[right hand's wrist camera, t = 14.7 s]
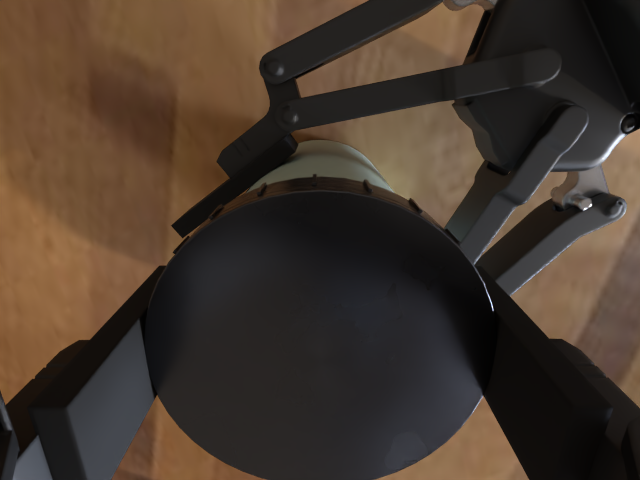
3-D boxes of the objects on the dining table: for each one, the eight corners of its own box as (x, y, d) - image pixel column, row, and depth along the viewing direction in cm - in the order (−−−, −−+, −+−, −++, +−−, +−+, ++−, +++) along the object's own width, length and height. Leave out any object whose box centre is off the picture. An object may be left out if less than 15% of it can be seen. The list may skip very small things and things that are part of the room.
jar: (284, 285, 27) (247, 490, 13) (230, 170, 24) (109, 272, 10) (404, 243, 26) (501, 417, 12) (361, 117, 23) (423, 152, 9)
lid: (391, 476, 14) (399, 520, 13) (130, 394, 13) (105, 433, 12) (539, 252, 11) (573, 276, 10) (218, 116, 10) (200, 120, 9)
